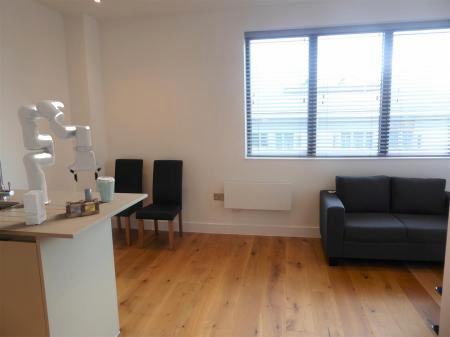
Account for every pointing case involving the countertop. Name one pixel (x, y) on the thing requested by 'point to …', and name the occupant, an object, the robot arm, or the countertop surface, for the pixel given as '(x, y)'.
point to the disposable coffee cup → (106, 188)
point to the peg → (88, 195)
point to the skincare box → (34, 207)
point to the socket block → (82, 208)
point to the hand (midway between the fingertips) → (86, 180)
